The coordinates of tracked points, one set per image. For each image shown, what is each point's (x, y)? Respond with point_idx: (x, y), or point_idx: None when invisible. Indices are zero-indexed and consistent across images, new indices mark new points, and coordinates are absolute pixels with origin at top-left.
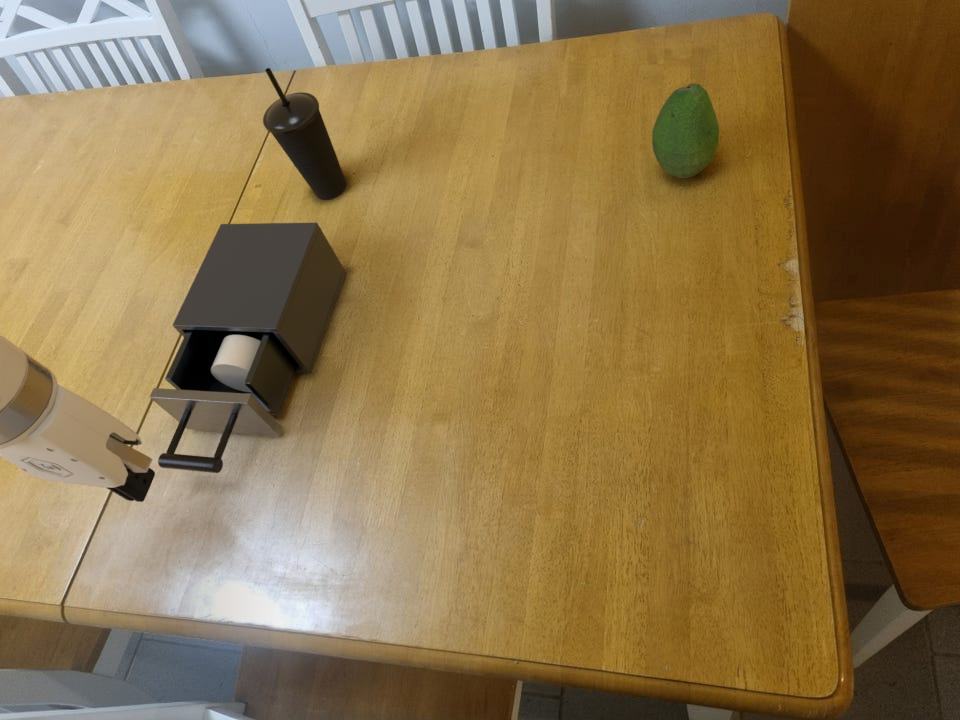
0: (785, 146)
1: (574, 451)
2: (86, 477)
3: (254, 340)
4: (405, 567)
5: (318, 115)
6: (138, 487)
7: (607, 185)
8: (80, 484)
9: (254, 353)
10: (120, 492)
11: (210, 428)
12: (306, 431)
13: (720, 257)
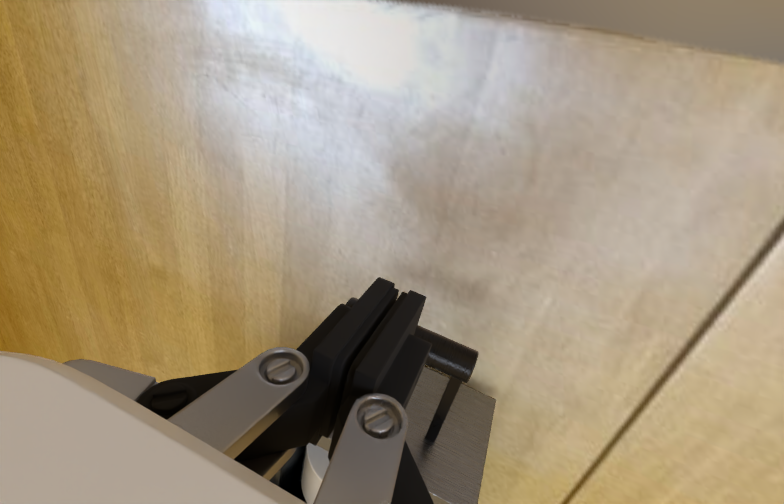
0: None
1: (35, 190)
2: None
3: (303, 492)
4: (135, 76)
5: None
6: (325, 321)
7: None
8: (197, 472)
9: (304, 472)
10: (383, 328)
11: (441, 383)
12: (308, 317)
13: (13, 329)
